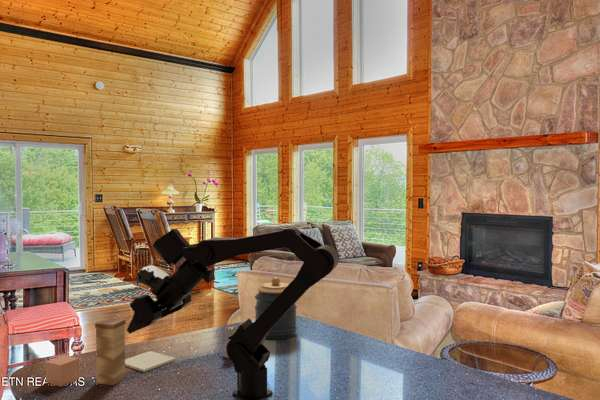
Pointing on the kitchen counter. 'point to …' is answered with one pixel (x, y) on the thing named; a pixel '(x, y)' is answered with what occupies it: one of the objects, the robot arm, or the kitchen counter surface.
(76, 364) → the terracotta block
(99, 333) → the brown block
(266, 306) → the canister
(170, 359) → the pad
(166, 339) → the kitchen counter surface
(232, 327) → the rook chess piece
